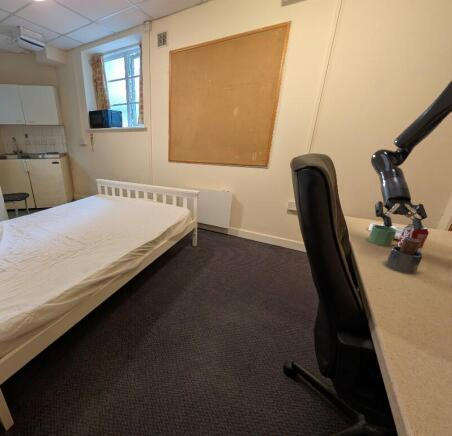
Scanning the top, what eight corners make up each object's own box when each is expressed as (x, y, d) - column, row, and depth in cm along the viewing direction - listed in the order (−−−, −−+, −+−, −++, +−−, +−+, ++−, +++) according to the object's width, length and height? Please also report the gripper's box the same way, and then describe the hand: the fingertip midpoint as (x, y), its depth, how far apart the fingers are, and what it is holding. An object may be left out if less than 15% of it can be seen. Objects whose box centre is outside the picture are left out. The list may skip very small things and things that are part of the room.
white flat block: (367, 234, 109) (368, 226, 119) (421, 246, 97) (417, 235, 107) (369, 228, 108) (370, 220, 118) (424, 239, 96) (420, 229, 106)
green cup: (393, 243, 100) (399, 229, 98) (387, 247, 96) (393, 233, 94) (371, 237, 106) (376, 223, 104) (365, 240, 103) (370, 227, 100)
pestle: (409, 267, 81) (421, 240, 77) (406, 270, 79) (418, 243, 75) (395, 262, 84) (406, 236, 80) (391, 265, 82) (403, 238, 78)
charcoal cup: (418, 269, 80) (426, 252, 78) (411, 276, 77) (419, 258, 74) (389, 260, 87) (396, 244, 84) (382, 265, 83) (388, 249, 80)
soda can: (422, 255, 90) (435, 228, 86) (411, 257, 88) (424, 230, 84) (401, 247, 96) (412, 222, 92) (391, 250, 94) (401, 224, 90)
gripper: (379, 185, 87) (386, 222, 81) (425, 187, 83) (437, 226, 77) (367, 194, 93) (373, 229, 87) (409, 197, 89) (419, 234, 83)
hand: (403, 228), depth 82 cm, fingers open, 8 cm apart
